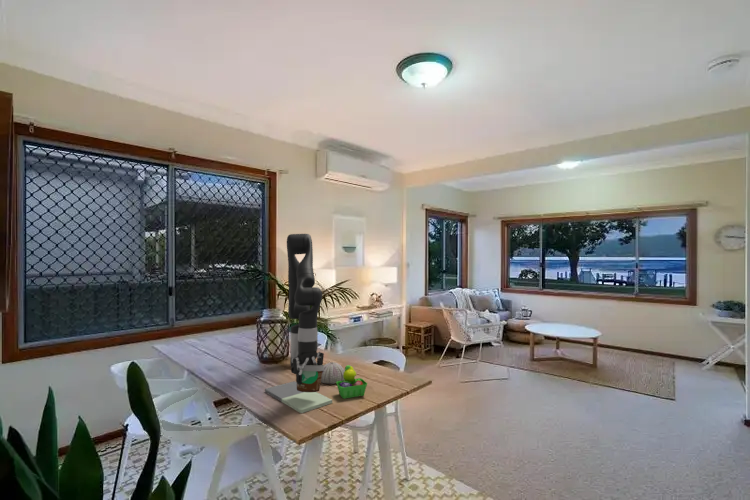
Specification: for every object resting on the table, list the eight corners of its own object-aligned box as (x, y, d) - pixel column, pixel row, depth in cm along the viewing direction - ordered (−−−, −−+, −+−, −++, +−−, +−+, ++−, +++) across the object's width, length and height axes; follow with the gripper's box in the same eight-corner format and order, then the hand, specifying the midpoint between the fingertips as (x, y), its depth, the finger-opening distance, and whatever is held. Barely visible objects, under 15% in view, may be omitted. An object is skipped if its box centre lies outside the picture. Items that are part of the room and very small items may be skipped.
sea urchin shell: (346, 385, 160) (346, 367, 160) (315, 386, 159) (315, 367, 159) (346, 375, 173) (346, 358, 173) (317, 376, 172) (318, 359, 172)
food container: (286, 389, 139) (289, 362, 141) (296, 386, 145) (298, 360, 146) (313, 395, 134) (315, 367, 136) (322, 391, 140) (324, 364, 141)
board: (294, 383, 161) (294, 381, 161) (332, 403, 140) (332, 399, 141) (264, 391, 151) (264, 388, 151) (300, 413, 131) (300, 410, 131)
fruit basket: (341, 400, 143) (341, 371, 143) (334, 392, 151) (334, 365, 151) (367, 396, 148) (368, 368, 148) (360, 389, 156) (360, 362, 156)
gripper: (317, 334, 149) (317, 375, 149) (286, 339, 139) (285, 383, 139) (328, 337, 143) (327, 380, 143) (296, 343, 134) (295, 389, 133)
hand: (307, 381), depth 141 cm, fingers closed on food container, 6 cm apart
